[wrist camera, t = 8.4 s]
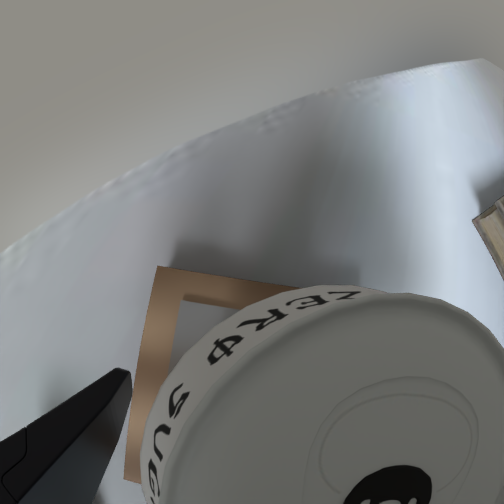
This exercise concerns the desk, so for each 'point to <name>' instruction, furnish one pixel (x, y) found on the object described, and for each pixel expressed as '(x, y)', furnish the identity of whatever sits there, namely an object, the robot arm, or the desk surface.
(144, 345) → the brown square frame
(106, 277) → the desk surface
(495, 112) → the desk surface
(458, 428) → the energy drink can
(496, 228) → the book
